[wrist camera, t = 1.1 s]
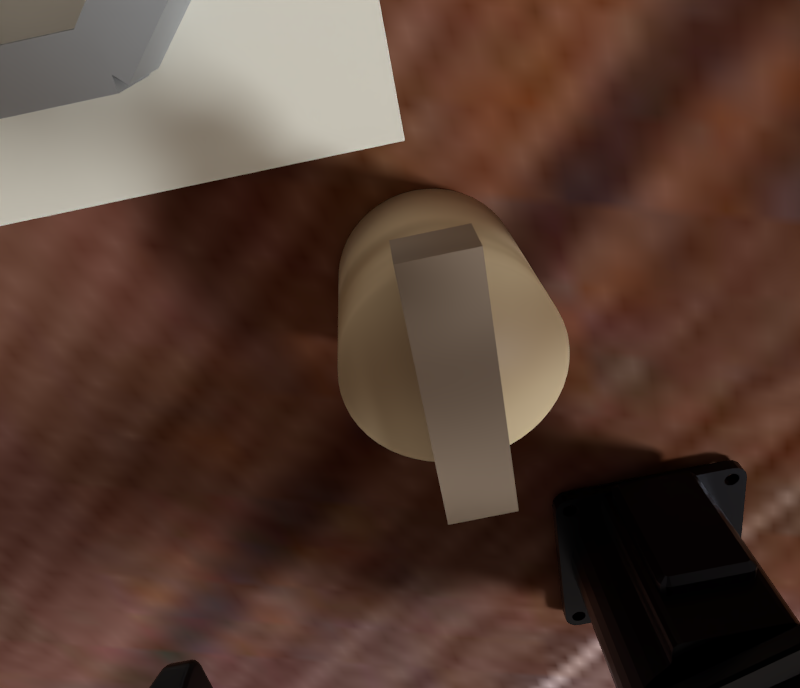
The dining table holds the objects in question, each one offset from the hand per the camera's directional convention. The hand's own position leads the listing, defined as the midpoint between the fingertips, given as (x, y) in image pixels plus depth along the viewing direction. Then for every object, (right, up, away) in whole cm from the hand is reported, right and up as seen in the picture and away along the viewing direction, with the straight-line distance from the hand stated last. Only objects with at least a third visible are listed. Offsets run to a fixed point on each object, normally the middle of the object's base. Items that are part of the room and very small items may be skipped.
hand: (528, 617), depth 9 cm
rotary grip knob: (-1, +6, +10) cm, 11 cm away
